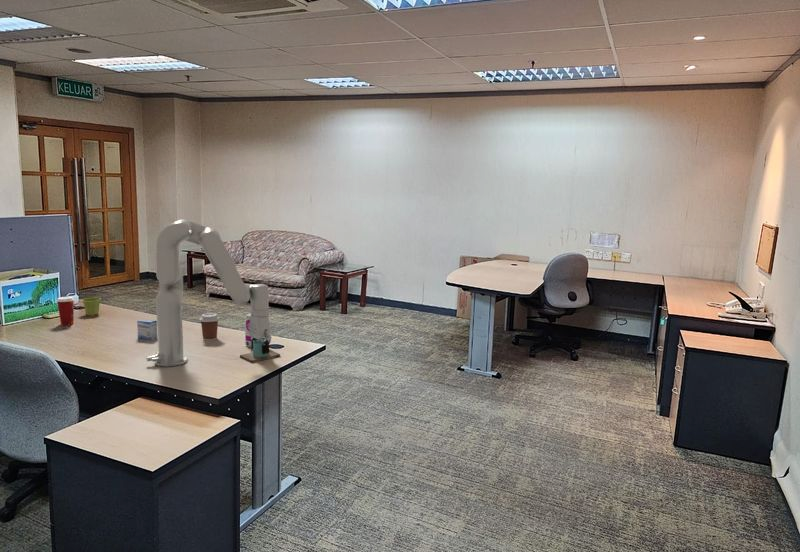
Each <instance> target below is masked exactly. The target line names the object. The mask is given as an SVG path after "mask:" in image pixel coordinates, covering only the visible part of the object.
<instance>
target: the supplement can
mask: <svg viewBox="0 0 800 552" xmlns="http://www.w3.org/2000/svg"><path fill="white" fill-rule="evenodd" d="M245 315H246V316H245V317H244V329H245V330H244V332H245V339H244V341H245V342H244V343H245V345H246V346H247V347H248V348H251V341H252V340H251V336H250V335H249V324H250V316H251V312H248V313H246V314H245Z"/></svg>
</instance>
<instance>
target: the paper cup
mask: <svg viewBox="0 0 800 552" xmlns="http://www.w3.org/2000/svg"><path fill="white" fill-rule="evenodd" d="M74 301H75V299H74V297H73V296H61V297H58V298H57V300H56V302H57V305H58V315H59V321H60V325H61V326H71V325H70V324H72V325H74V311H75V309H74V308H75V307H74V306H75V305H74Z"/></svg>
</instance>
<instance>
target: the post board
mask: <svg viewBox="0 0 800 552" xmlns="http://www.w3.org/2000/svg"><path fill="white" fill-rule="evenodd" d="M279 357H280V358H281V354H280V353H278V352H275V351H273V350H271V349H269V353H267V356H266V357H253V351H252V352H249V353H243V354H240V355H239V358H241V359H243V360H245V361H247V362H249V363H251V364H253V363H257V362H261V361H266V360H267V361H268V360H271V359H274V358H275V359H276V358H279Z"/></svg>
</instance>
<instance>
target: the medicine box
mask: <svg viewBox="0 0 800 552" xmlns="http://www.w3.org/2000/svg"><path fill="white" fill-rule="evenodd" d="M136 321H137V322H136V323H137V325H136V326H137V338H138V339H141V338H142V340H154V339H155V340H156V339H158V327H157V320H155V319H154V320H153V319H145V318H144V319H143V318H142V319H139V320H136Z"/></svg>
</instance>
